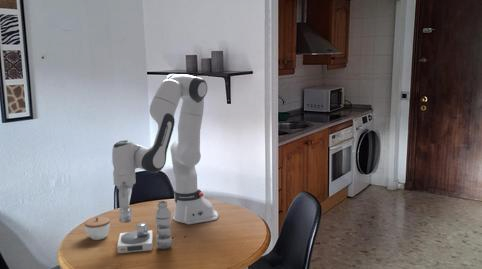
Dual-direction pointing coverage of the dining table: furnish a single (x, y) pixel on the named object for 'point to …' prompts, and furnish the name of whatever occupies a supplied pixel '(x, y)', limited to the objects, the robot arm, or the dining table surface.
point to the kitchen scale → (134, 242)
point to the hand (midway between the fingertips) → (126, 211)
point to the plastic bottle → (163, 226)
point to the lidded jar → (97, 227)
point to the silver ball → (142, 230)
